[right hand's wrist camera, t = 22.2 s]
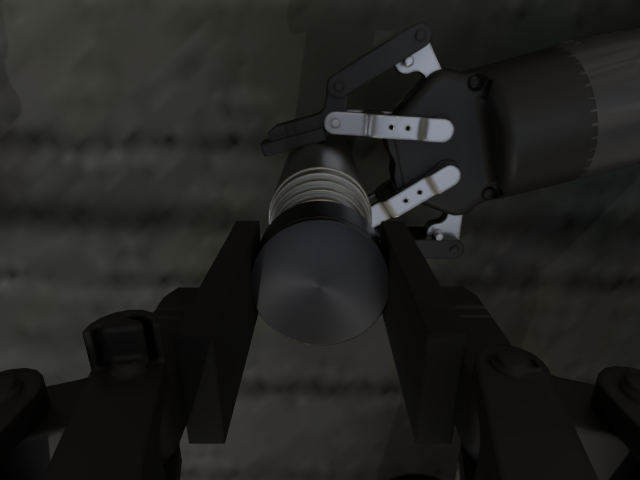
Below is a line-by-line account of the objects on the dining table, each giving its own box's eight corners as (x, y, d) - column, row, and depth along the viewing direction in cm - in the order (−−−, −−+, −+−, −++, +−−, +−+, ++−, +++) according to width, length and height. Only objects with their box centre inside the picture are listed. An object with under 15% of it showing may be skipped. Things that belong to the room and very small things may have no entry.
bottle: (282, 135, 31) (228, 226, 12) (343, 120, 30) (378, 191, 12) (298, 194, 32) (270, 349, 14) (356, 180, 32) (403, 322, 14)
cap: (270, 187, 13) (262, 205, 12) (396, 215, 14) (408, 237, 12) (249, 299, 15) (239, 331, 13) (363, 322, 15) (369, 356, 13)
